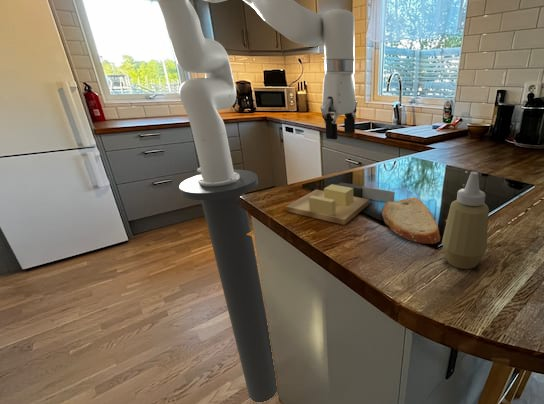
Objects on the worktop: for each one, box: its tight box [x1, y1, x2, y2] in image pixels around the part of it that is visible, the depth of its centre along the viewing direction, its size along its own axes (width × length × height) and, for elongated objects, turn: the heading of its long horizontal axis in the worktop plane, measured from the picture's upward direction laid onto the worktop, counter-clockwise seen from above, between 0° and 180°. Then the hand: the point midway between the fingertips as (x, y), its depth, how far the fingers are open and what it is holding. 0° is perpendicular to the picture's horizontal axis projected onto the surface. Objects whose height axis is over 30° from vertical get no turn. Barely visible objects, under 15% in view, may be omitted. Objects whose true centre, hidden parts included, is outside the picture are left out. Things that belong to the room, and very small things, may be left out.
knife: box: [336, 182, 396, 203], centre depth 87 cm, size 18×2×4 cm, turn 63°
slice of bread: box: [381, 197, 441, 245], centre depth 73 cm, size 18×18×4 cm
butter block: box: [323, 183, 353, 206], centre depth 81 cm, size 7×4×4 cm, turn 62°
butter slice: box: [309, 196, 336, 216], centre depth 75 cm, size 7×2×4 cm, turn 63°
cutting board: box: [285, 189, 370, 226], centre depth 81 cm, size 18×14×2 cm
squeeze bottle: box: [441, 171, 490, 270], centre depth 54 cm, size 8×8×18 cm
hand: (341, 135), depth 82 cm, fingers open, 9 cm apart
